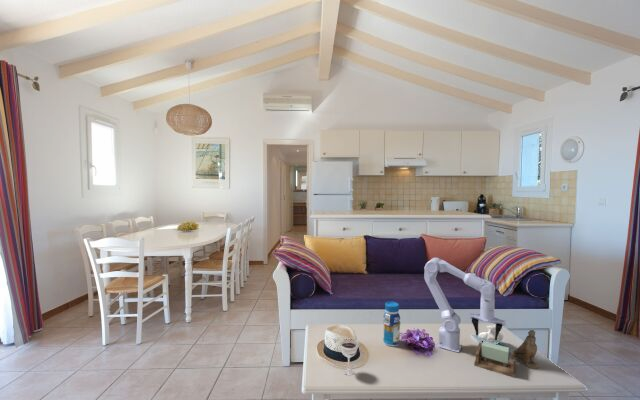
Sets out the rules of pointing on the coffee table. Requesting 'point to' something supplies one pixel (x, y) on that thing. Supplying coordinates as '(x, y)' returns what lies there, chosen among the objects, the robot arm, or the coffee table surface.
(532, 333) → the brown carved statuette
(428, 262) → the robot arm
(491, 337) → the bust
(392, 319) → the beverage bottle
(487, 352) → the pale green rectangular block
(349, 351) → the wineglass
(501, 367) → the shelf frame
